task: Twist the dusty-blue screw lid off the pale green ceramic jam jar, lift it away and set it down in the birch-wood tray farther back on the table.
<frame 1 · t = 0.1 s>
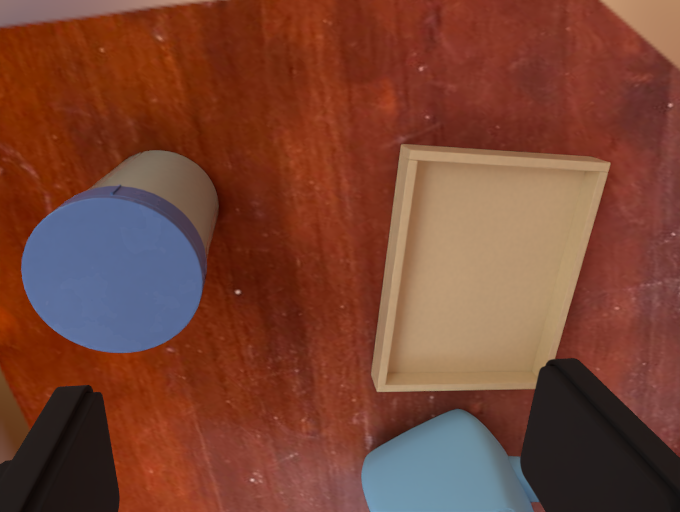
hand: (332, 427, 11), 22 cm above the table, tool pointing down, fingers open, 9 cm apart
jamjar: (163, 204, 31), on the table
tray: (474, 271, 36), on the table
teapot: (447, 456, 42), on the table
lid: (117, 276, 21), point 11 cm above the table, screwed on, not yet turned
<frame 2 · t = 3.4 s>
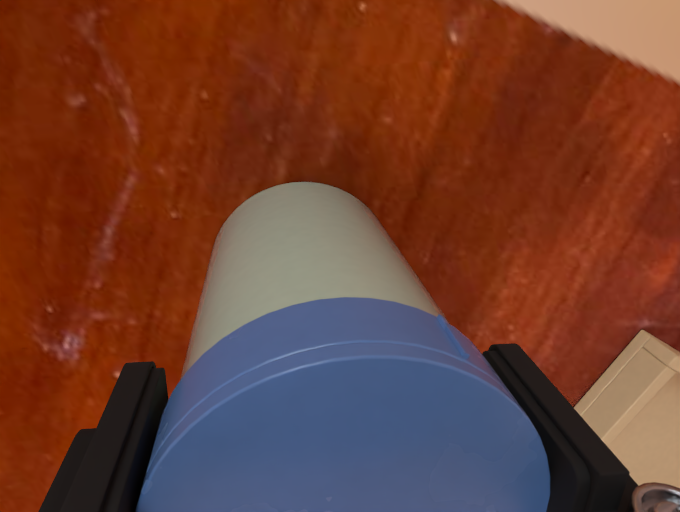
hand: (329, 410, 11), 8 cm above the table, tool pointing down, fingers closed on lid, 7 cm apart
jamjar: (302, 269, 18), on the table
tray: (612, 508, 26), on the table
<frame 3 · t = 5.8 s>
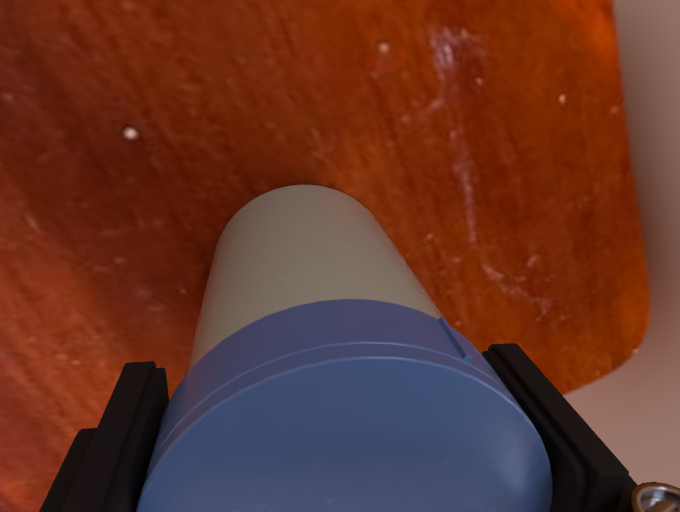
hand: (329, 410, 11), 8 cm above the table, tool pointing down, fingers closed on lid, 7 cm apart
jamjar: (303, 271, 19), on the table
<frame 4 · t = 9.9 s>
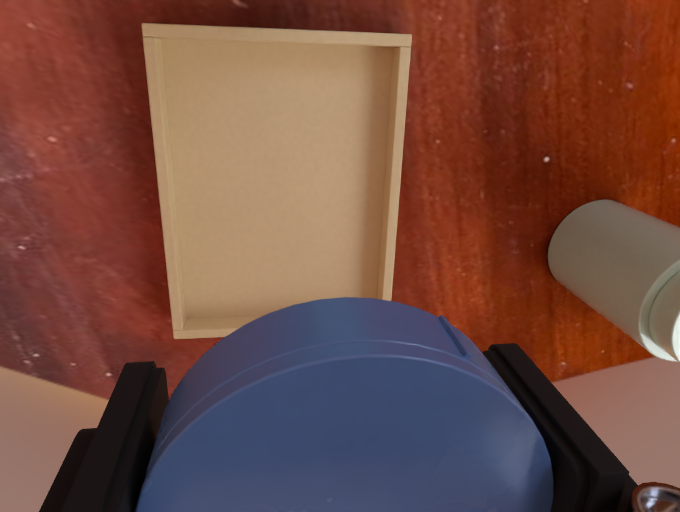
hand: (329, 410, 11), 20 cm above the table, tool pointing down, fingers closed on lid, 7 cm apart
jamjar: (593, 246, 34), on the table
tray: (282, 189, 30), on the table
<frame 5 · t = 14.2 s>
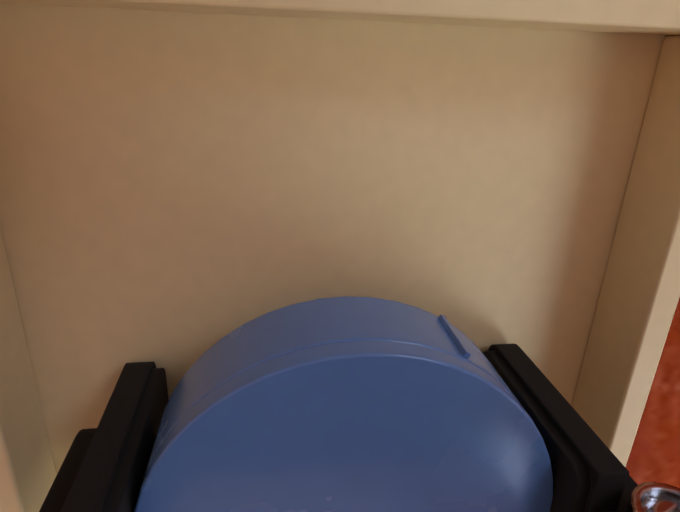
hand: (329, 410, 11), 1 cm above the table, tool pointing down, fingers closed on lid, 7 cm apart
tray: (327, 391, 12), on the table
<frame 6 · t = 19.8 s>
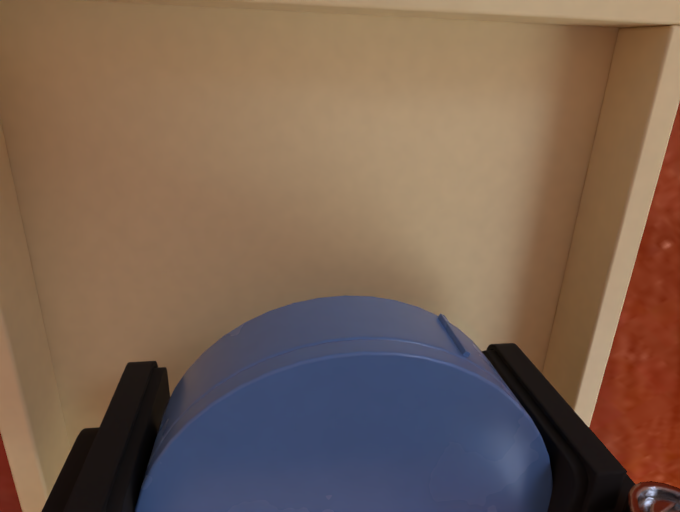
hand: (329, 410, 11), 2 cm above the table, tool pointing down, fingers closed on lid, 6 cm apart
tray: (316, 358, 13), on the table
when the fingers open (2 cm above the table, at t = 24.9 s): lid drops 3 cm, resting on tray.
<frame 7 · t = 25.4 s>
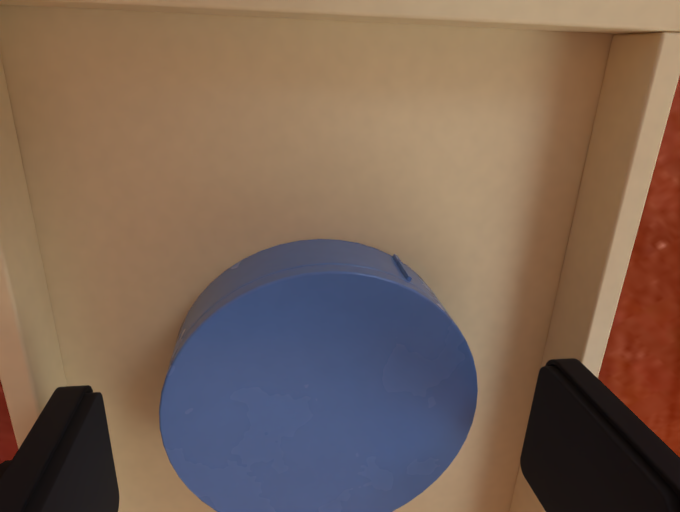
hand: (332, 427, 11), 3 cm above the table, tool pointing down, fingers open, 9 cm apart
tray: (318, 355, 13), on the table
lid: (323, 406, 11), point 2 cm above the table, off its thread, touching tray
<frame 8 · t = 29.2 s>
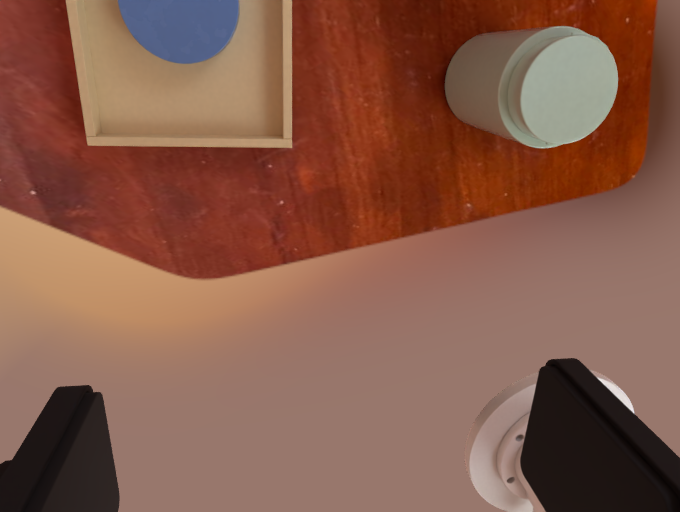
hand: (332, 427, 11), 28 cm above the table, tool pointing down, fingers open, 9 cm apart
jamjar: (487, 81, 37), on the table
tray: (186, 5, 32), on the table
lid: (179, 1, 30), point 2 cm above the table, off its thread, touching tray
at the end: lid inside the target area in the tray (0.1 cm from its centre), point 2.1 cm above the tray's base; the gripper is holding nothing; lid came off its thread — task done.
